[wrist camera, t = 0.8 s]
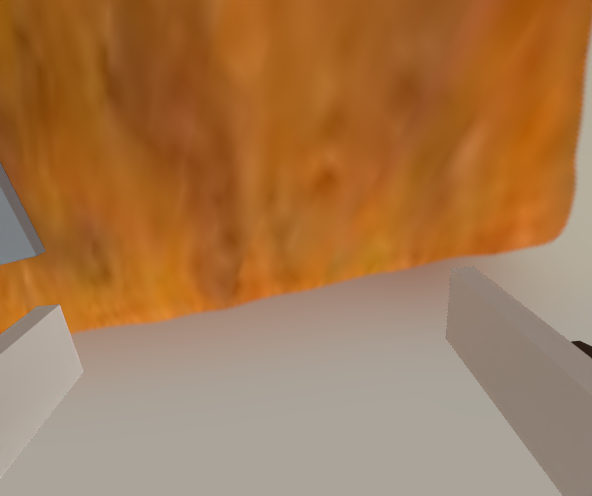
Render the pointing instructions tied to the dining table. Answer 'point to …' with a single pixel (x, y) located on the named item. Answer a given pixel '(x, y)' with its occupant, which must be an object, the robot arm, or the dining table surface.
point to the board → (15, 226)
